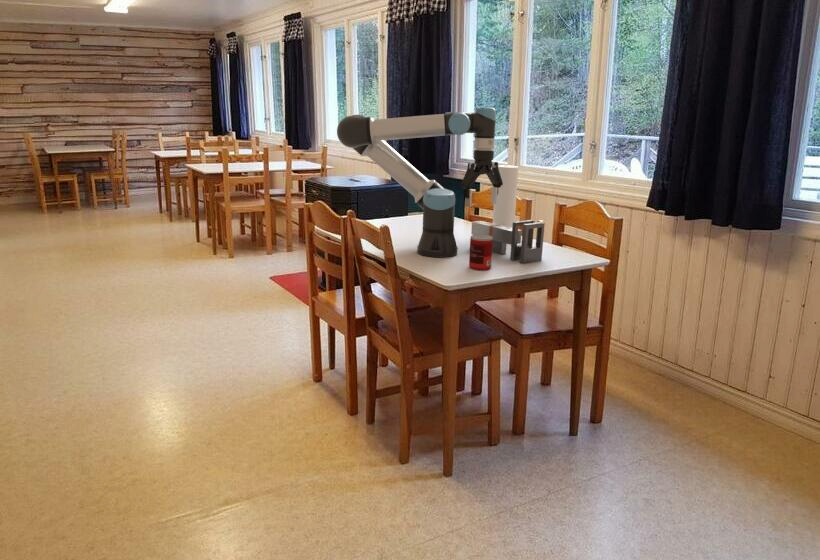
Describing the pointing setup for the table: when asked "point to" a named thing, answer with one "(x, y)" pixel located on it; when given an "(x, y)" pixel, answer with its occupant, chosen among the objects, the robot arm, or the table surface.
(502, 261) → the table surface
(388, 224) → the table surface
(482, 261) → the canned food
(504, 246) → the stand
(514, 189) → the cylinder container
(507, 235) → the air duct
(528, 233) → the collar stand
